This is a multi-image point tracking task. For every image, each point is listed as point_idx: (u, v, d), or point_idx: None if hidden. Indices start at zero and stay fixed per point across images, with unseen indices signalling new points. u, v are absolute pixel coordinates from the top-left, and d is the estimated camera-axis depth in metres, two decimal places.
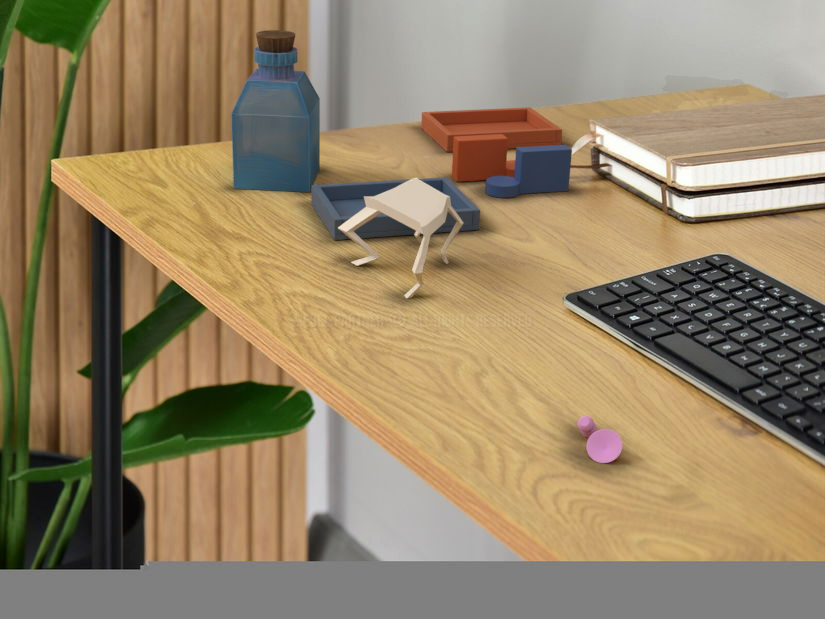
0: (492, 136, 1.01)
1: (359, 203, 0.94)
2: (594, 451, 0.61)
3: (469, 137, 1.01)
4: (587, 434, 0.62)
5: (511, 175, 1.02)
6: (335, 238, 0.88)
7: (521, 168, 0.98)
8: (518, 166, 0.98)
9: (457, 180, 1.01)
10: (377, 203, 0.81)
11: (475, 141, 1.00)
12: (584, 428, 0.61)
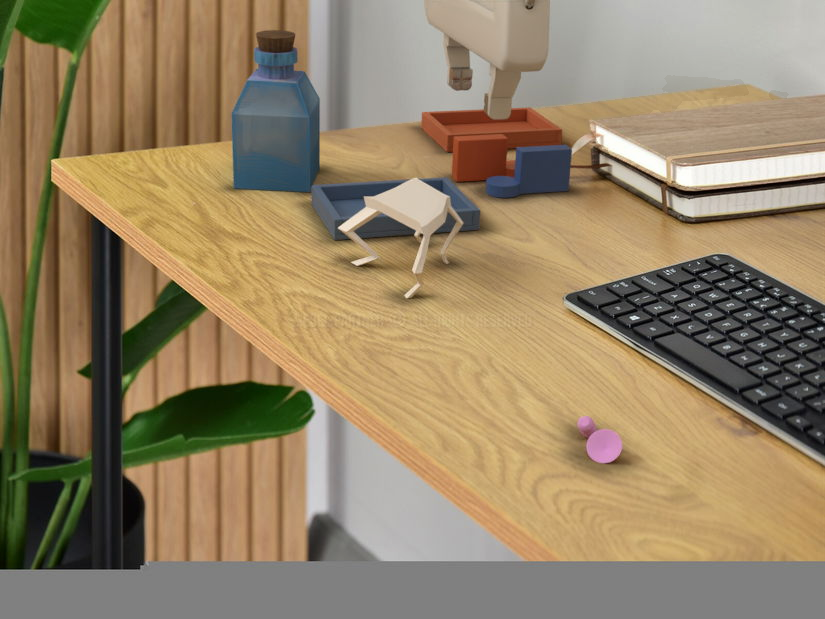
0: (492, 136, 1.01)
1: (359, 203, 0.94)
2: (594, 451, 0.61)
3: (469, 137, 1.01)
4: (587, 434, 0.62)
5: (511, 175, 1.02)
6: (335, 238, 0.88)
7: (521, 168, 0.98)
8: (518, 166, 0.98)
9: (457, 180, 1.01)
10: (377, 203, 0.81)
11: (475, 141, 1.00)
12: (584, 428, 0.61)
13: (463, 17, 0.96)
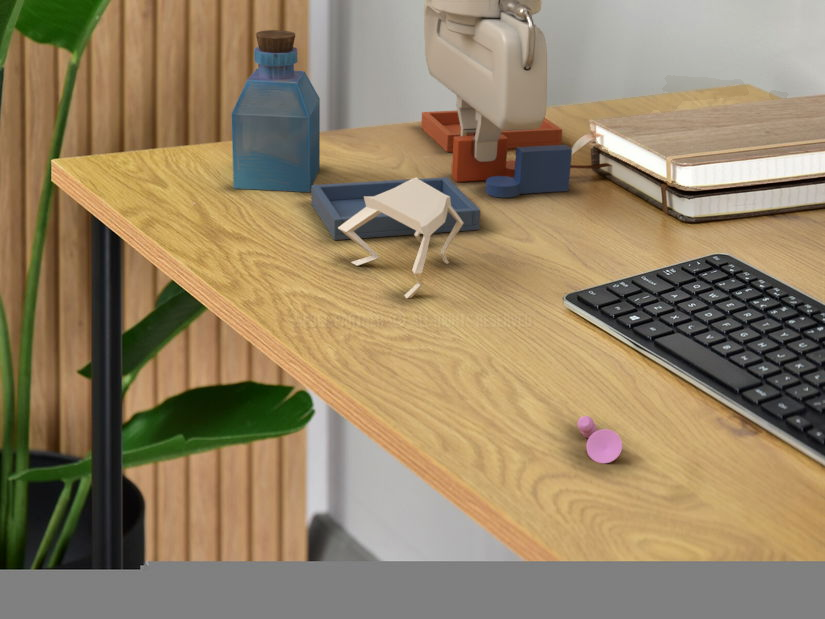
0: None
1: (359, 203, 0.94)
2: (594, 451, 0.61)
3: (469, 137, 1.01)
4: (587, 434, 0.62)
5: (511, 175, 1.02)
6: (335, 238, 0.88)
7: (521, 168, 0.98)
8: (518, 166, 0.98)
9: (457, 180, 1.01)
10: (377, 203, 0.81)
11: None
12: (584, 428, 0.61)
13: (463, 73, 0.98)
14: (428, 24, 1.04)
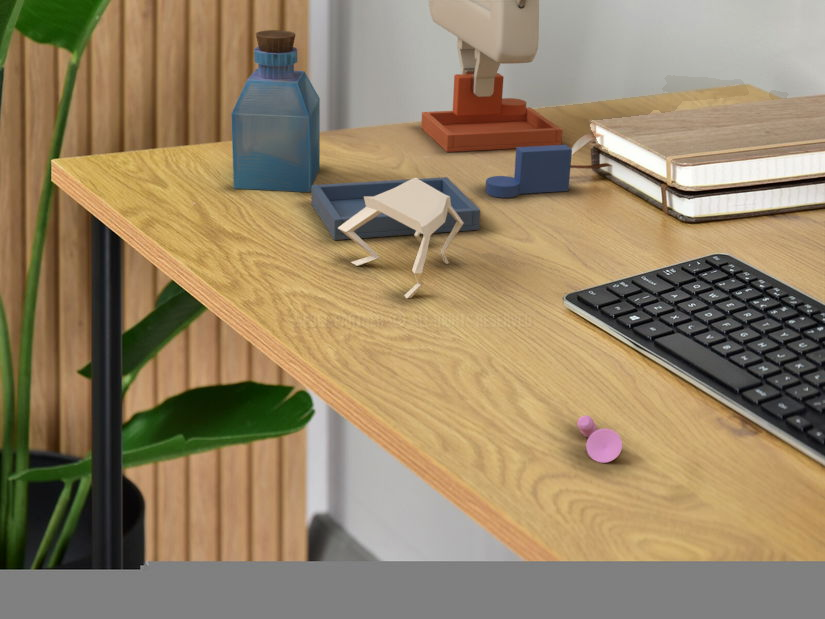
0: None
1: (359, 203, 0.94)
2: (594, 450, 0.61)
3: (468, 75, 1.11)
4: (587, 434, 0.62)
5: (506, 110, 1.12)
6: (335, 238, 0.88)
7: (521, 168, 0.98)
8: (518, 166, 0.98)
9: (457, 114, 1.12)
10: (377, 203, 0.81)
11: None
12: (584, 427, 0.61)
13: (464, 16, 1.08)
14: None
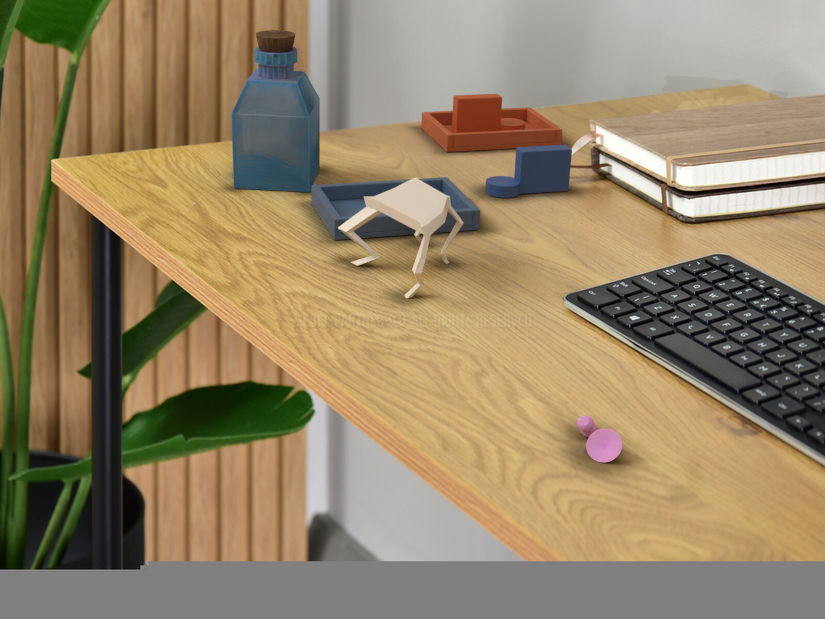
0: (488, 95, 1.12)
1: (359, 203, 0.94)
2: (594, 450, 0.61)
3: (467, 96, 1.12)
4: (587, 434, 0.62)
5: (505, 130, 1.13)
6: (335, 238, 0.88)
7: (521, 168, 0.98)
8: (518, 166, 0.98)
9: None
10: (377, 203, 0.81)
11: (472, 99, 1.11)
12: (583, 427, 0.61)
13: None
14: None
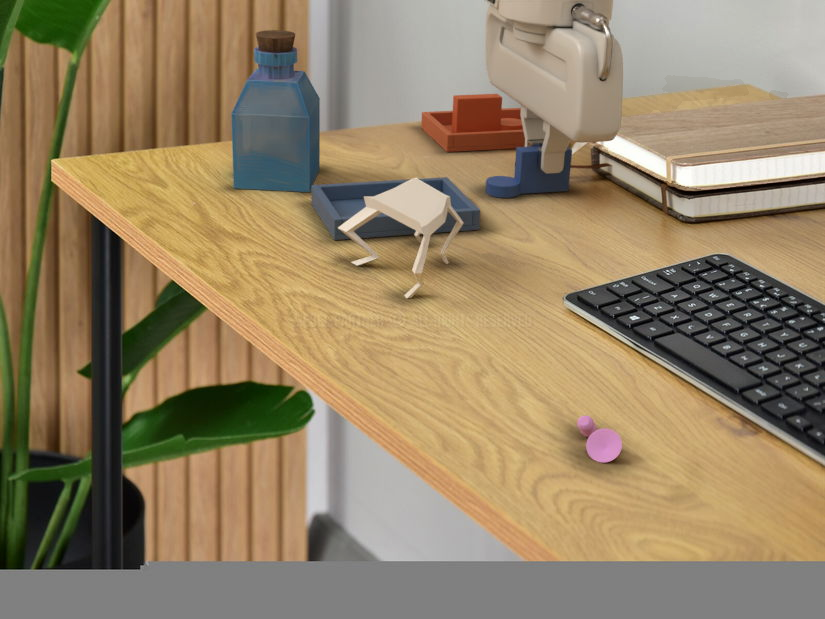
0: (488, 95, 1.12)
1: (359, 203, 0.94)
2: (594, 450, 0.61)
3: (467, 96, 1.12)
4: (587, 434, 0.62)
5: (505, 130, 1.13)
6: (335, 238, 0.88)
7: (521, 168, 0.98)
8: (518, 166, 0.98)
9: None
10: (377, 203, 0.81)
11: (472, 99, 1.11)
12: (583, 427, 0.61)
13: (531, 83, 0.95)
14: (490, 32, 1.02)
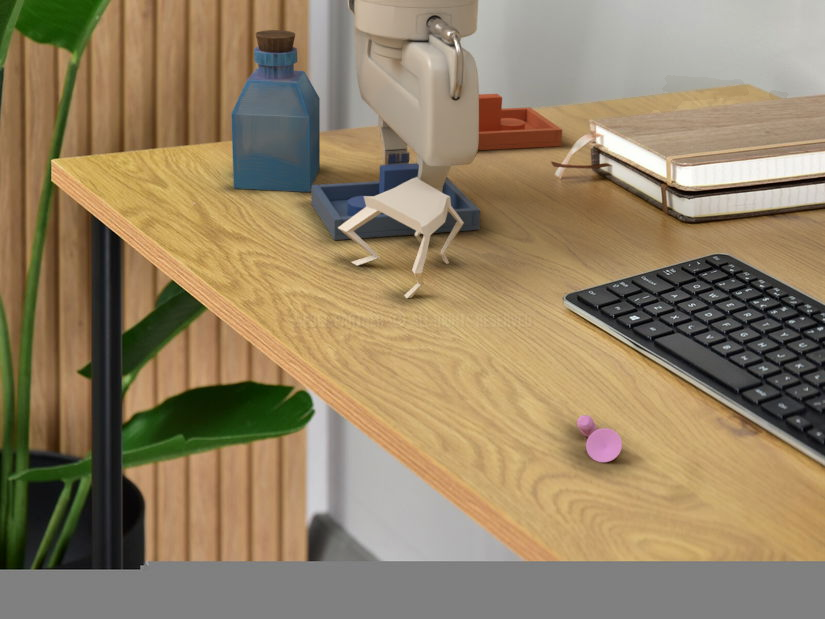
0: (488, 95, 1.12)
1: None
2: (594, 450, 0.61)
3: None
4: (587, 434, 0.62)
5: (505, 130, 1.13)
6: (335, 238, 0.88)
7: (384, 188, 0.91)
8: (381, 186, 0.91)
9: None
10: (377, 203, 0.81)
11: None
12: (583, 427, 0.61)
13: (392, 100, 0.88)
14: (358, 45, 0.95)
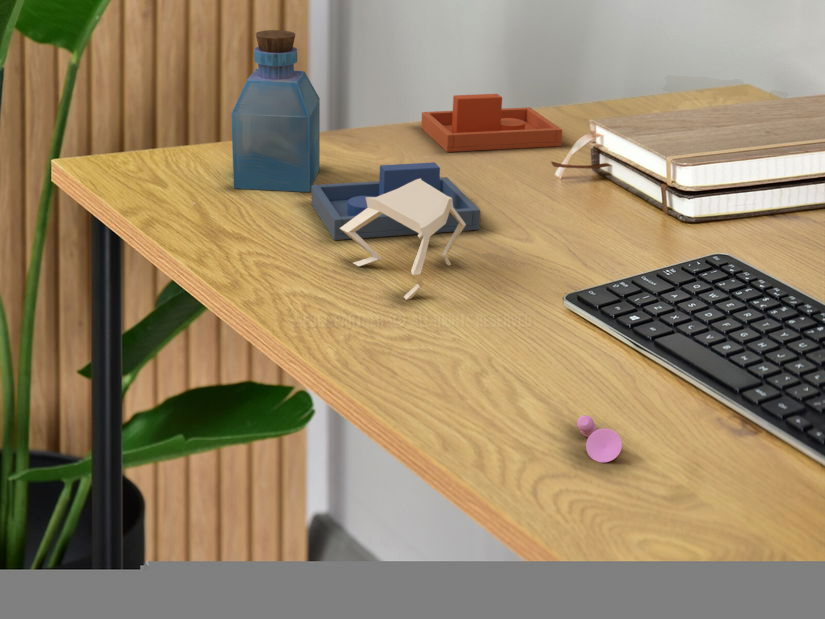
0: (488, 95, 1.12)
1: None
2: (594, 450, 0.61)
3: (467, 96, 1.12)
4: (587, 434, 0.62)
5: (505, 130, 1.13)
6: (335, 238, 0.88)
7: (384, 188, 0.91)
8: (381, 186, 0.91)
9: None
10: (378, 204, 0.81)
11: (472, 99, 1.11)
12: (583, 427, 0.61)
13: None
14: None
